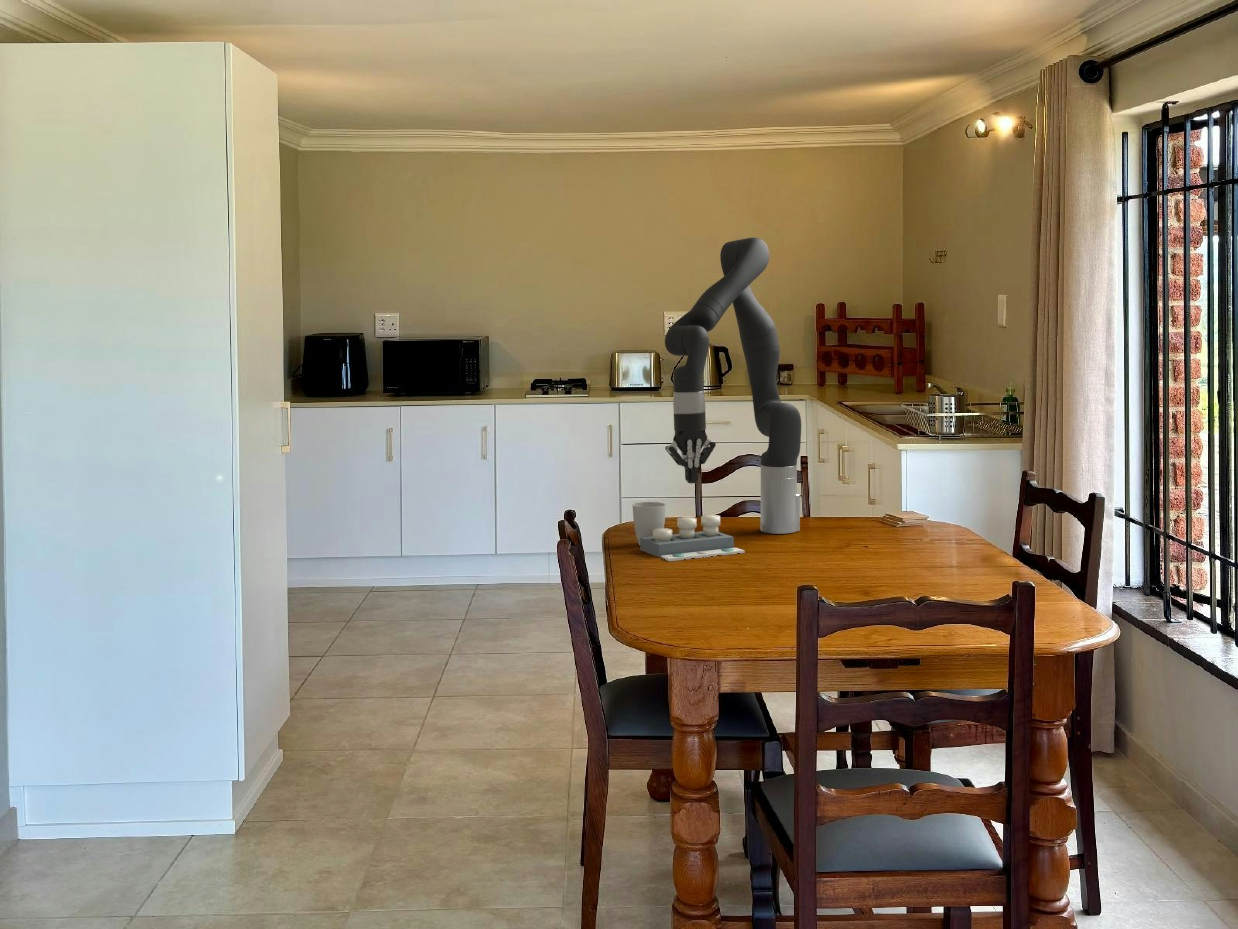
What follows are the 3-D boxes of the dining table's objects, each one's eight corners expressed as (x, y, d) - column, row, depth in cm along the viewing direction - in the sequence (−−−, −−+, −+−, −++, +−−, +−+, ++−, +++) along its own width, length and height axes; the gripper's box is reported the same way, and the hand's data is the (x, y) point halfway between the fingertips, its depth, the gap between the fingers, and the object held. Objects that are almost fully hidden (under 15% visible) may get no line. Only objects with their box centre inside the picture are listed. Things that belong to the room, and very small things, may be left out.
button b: (690, 535, 284) (690, 516, 284) (700, 538, 280) (699, 519, 280) (674, 536, 282) (673, 518, 282) (682, 540, 278) (682, 521, 278)
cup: (666, 541, 292) (666, 501, 291) (664, 548, 284) (664, 507, 283) (634, 541, 293) (633, 501, 291) (631, 547, 285) (630, 507, 283)
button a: (714, 532, 287) (714, 514, 286) (723, 536, 283) (723, 517, 282) (697, 534, 285) (697, 515, 284) (707, 537, 281) (707, 518, 280)
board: (713, 542, 290) (713, 530, 290) (733, 549, 281) (733, 537, 281) (640, 549, 282) (640, 537, 282) (659, 557, 273) (658, 544, 273)
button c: (667, 546, 282) (666, 527, 281) (675, 549, 278) (675, 530, 277) (649, 548, 280) (649, 529, 279) (658, 551, 276) (658, 532, 275)
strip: (735, 550, 280) (735, 546, 280) (744, 553, 277) (744, 549, 277) (661, 558, 272) (660, 554, 272) (668, 561, 268) (668, 557, 268)
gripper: (706, 407, 284) (708, 478, 286) (657, 411, 278) (660, 483, 281) (721, 409, 277) (723, 482, 280) (671, 413, 272) (674, 487, 274)
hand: (691, 482), depth 280 cm, fingers closed
